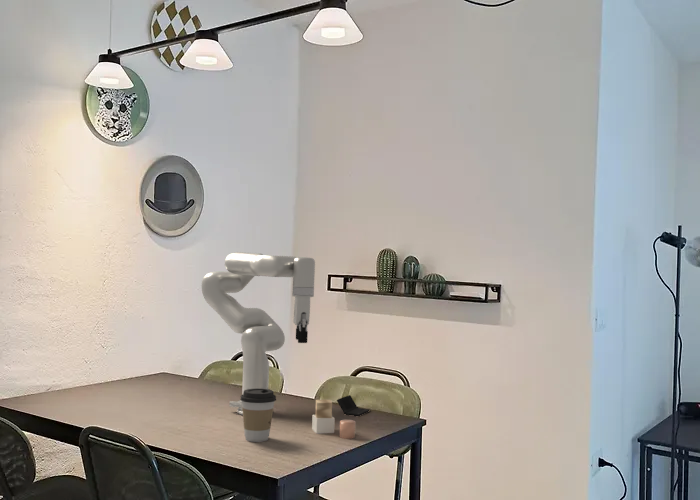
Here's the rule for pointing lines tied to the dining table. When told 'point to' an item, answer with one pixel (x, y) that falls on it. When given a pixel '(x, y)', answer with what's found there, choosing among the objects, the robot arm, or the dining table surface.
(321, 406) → the maple cube
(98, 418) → the dining table surface
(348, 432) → the terracotta cylinder
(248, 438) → the coffee cup
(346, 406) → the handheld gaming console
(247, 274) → the robot arm
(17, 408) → the dining table surface
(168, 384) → the dining table surface
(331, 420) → the white block
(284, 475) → the dining table surface
